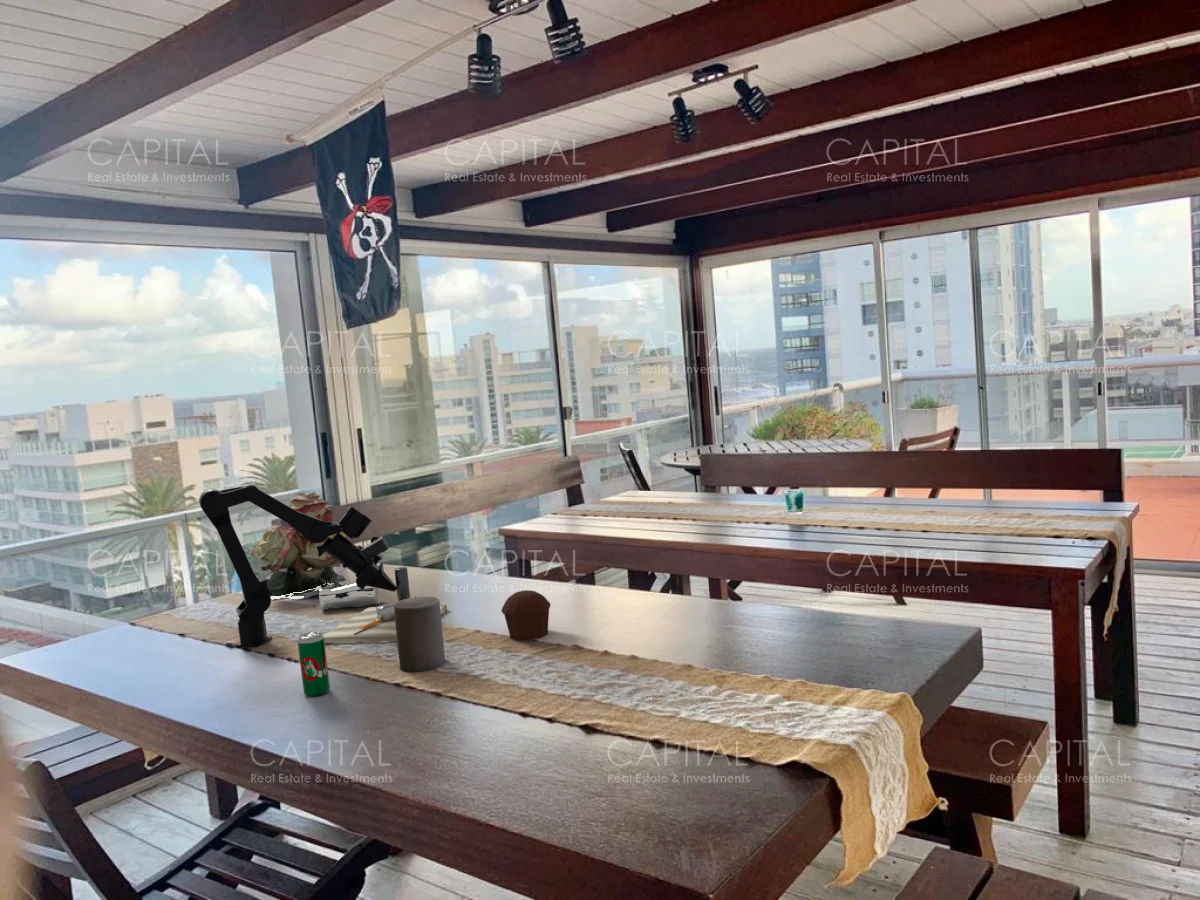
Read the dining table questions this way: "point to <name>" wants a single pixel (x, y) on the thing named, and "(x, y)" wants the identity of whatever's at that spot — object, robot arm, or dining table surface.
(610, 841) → the dining table surface
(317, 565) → the rose bouquet
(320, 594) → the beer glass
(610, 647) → the dining table surface
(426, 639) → the pillar candle
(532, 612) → the muffin
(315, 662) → the soda can
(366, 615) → the dial board
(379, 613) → the cam lever
